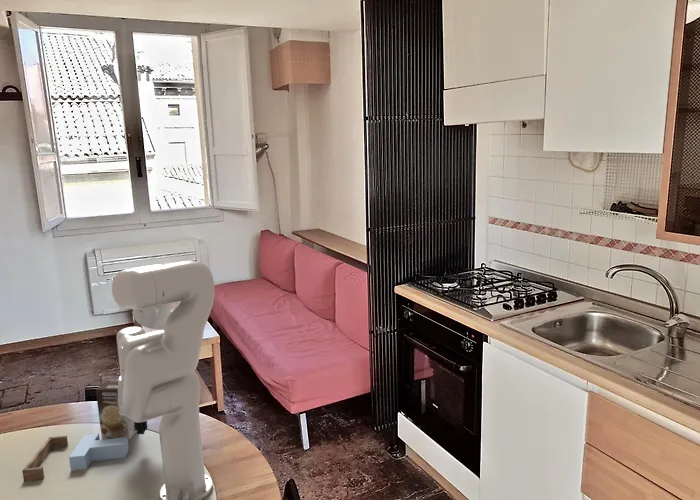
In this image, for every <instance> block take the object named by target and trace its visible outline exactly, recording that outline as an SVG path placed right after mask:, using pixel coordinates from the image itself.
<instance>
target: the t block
mask: <svg viewBox="0 0 700 500" xmlns="http://www.w3.org/2000/svg"><path fill="white" fill-rule="evenodd" d="M129 451H130V449H129V440H128V439H127V437H125V438H115V439H100V434H99V433H92V434H91V433H90V434H84V435H83V437H82V438H81V439H80V441H79V442H78V444H77V445H76V446H75V447H74V449H73V451H72V452H71V454H70V455H69V457H68V460H69V467H70V471H71V472H72V471H81V470H87V469H88V467H90V464H91V462H95V461H104V460H113V459H114V460H115V459H124V458H126V457H127V454H128V453H129Z"/></svg>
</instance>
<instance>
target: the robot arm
mask: <svg viewBox="0 0 700 500" xmlns="http://www.w3.org/2000/svg"><path fill="white" fill-rule="evenodd" d="M214 281H215V280H214V275H213V273H212V271H211V269H210V267H208V266H207V265H206V264H204V263H203V262H200V261H197V260H196V261H195V260H191V261H190V260H187V261H186V260H185V261H179V262H178V261H177V262H173V263H166V264H150V265H145V266H140V267H133V268H128V269H127V268H125V269H123V270H120V271H118V272H117V273H116V274H115V276H114V278H113V280H112V284H111V294H112V297H113V300H114V302H115V303H116V304H117V306H118V307H121V308H122V309H128V310H129V309H131V310H132V309H133V310H132V315H133V318H134V321H136V322H137V324H139V325H140V326H127V327H124V328H122V329H120V330H119V331H118V332H117V333H116V344H117V355H118V363H119V373H120V376H119V378H118V381H119V382H118V407H119V410H120V411H119V414H120V415H124V416H127V417H128V418H129V419H130V420H131V421H133V422H134V424H135V431H137V432H136V433H137V435H138V436H139V435H144V434H145V432H146V431H147V429H148V421H151V420H154V419H156V418H159V417H161V420H160V422H159V423H160V424H159V429H158V433H159V442H160V453H161V460H162V469H163V470H162V471H163V478H164V484H163V485H162V486H161V487H160V489H159V500H203V499H205V498H206V497H207V496H208V495H209V494H210V493H211V491H212V489H213V480H212V478H211V477H210V476H208V475H207V474H206V472H205V464H204V463H205V461H204V452H203V443H202V434H201V433H202V432H201V424H200V423H201V422H200V421H201V420H200V398H201V381H200V377H199V375H198V374H197V372H196V369H197V367H198V364H199V362H200V361H199V360H200V356H201V349H202V344H203V338H204V331H205V326H206V325H207V322H208V319H209V317H210V314H211V311H212V309H213V306H214V301H215V293H216V291H215V282H214ZM177 302H180V303H179V304H178V305H177V306H176V307H175V308H174V309H173V310H172V311H171V309H172V306H173V303H177ZM141 326H142V327H141ZM144 327H145V328H147V329H152V330H153V331H150V332H146V330H145V329H144Z"/></svg>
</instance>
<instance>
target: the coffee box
mask: <svg viewBox="0 0 700 500" xmlns="http://www.w3.org/2000/svg"><path fill="white" fill-rule="evenodd" d="M118 382H119V380H105V381H104V382H103V383H102V384H100V385H99V386H98V387H97V388H96V389H95V395H96V402H97V412H98V420H99V426H100V428H99V429H100V434H101V435H100V436H101V440H105V439H115V438H125V437H127V439H128V441H129V440H131V439H132V438H133V437H134V436H135V434H136V433H137V431H135V424H134V422H133V421H131V420H130V419H129V418H128V417H127V416H124V415H120V414H119V411H120V410H119V407H118Z"/></svg>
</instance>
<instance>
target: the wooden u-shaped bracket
mask: <svg viewBox="0 0 700 500" xmlns="http://www.w3.org/2000/svg"><path fill="white" fill-rule="evenodd" d="M68 446H69V439H68V435H60V436H58V435H57V436H49V437H48V439H47V440H46V441H45V442H44V443H43V444H42V445H41V447H40V449H39V450H37V452H36V453H35V454H34V455H33V457H32V458H31V460H29V462H28V463H27V464H26V465H25V466H24V468H23V469H22V470H21V471H22V478H23V479H22V480H23V481H24V482H28V481H29V482H30V481H36V480H37V481H38V480H43V479H45V473H44V467H43V466H40V465H41V463H42V462H43V461H44V460H45V458H46V457H47V456H48V455H49V454H50V452H51V451H52V450H53V448H62V447H63V448H64V447H68Z"/></svg>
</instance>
